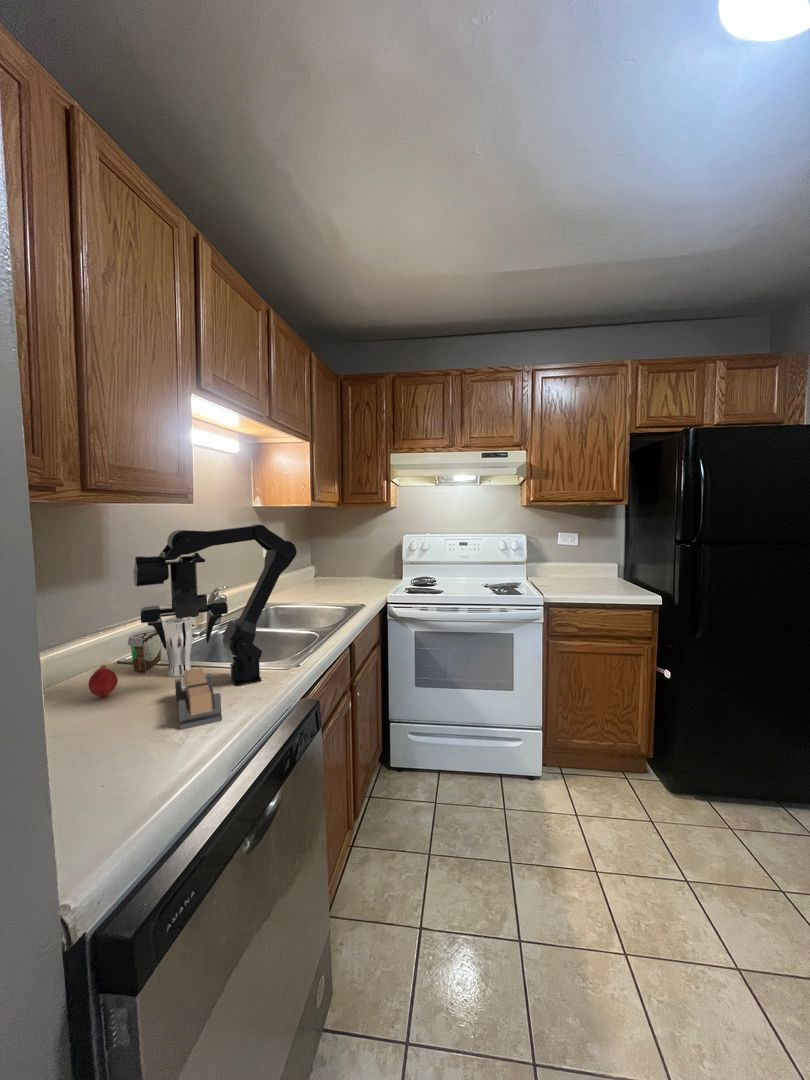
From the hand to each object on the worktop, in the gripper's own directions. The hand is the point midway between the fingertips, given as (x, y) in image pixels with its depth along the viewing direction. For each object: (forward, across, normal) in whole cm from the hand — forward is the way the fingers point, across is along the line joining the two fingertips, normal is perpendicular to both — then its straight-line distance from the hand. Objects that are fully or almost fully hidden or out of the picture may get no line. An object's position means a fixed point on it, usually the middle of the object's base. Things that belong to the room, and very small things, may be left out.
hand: (186, 645), depth 111 cm
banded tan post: (+10, +1, -11) cm, 15 cm away
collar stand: (+12, +1, -11) cm, 16 cm away
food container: (+12, -10, +28) cm, 32 cm away
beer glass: (+12, -1, +17) cm, 21 cm away
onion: (+12, -18, +8) cm, 23 cm away
